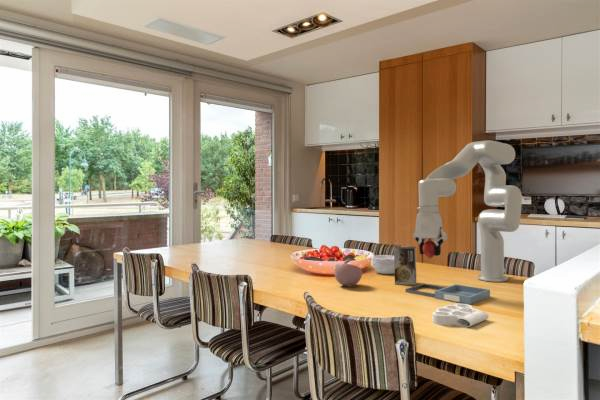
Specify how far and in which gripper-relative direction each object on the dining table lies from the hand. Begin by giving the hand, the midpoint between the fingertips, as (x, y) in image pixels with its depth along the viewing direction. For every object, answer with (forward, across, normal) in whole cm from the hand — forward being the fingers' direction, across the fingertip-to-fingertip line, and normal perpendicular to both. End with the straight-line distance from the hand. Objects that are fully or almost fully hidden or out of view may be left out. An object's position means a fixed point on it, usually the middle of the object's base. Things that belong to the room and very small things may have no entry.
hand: (430, 254), depth 177 cm
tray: (+15, +14, -1) cm, 21 cm away
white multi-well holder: (+15, +26, -28) cm, 41 cm away
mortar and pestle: (+15, -31, -15) cm, 38 cm away
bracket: (+15, 0, -1) cm, 15 cm away
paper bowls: (+16, -37, +21) cm, 46 cm away
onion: (+2, 0, 0) cm, 2 cm away
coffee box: (+16, -16, +6) cm, 23 cm away
